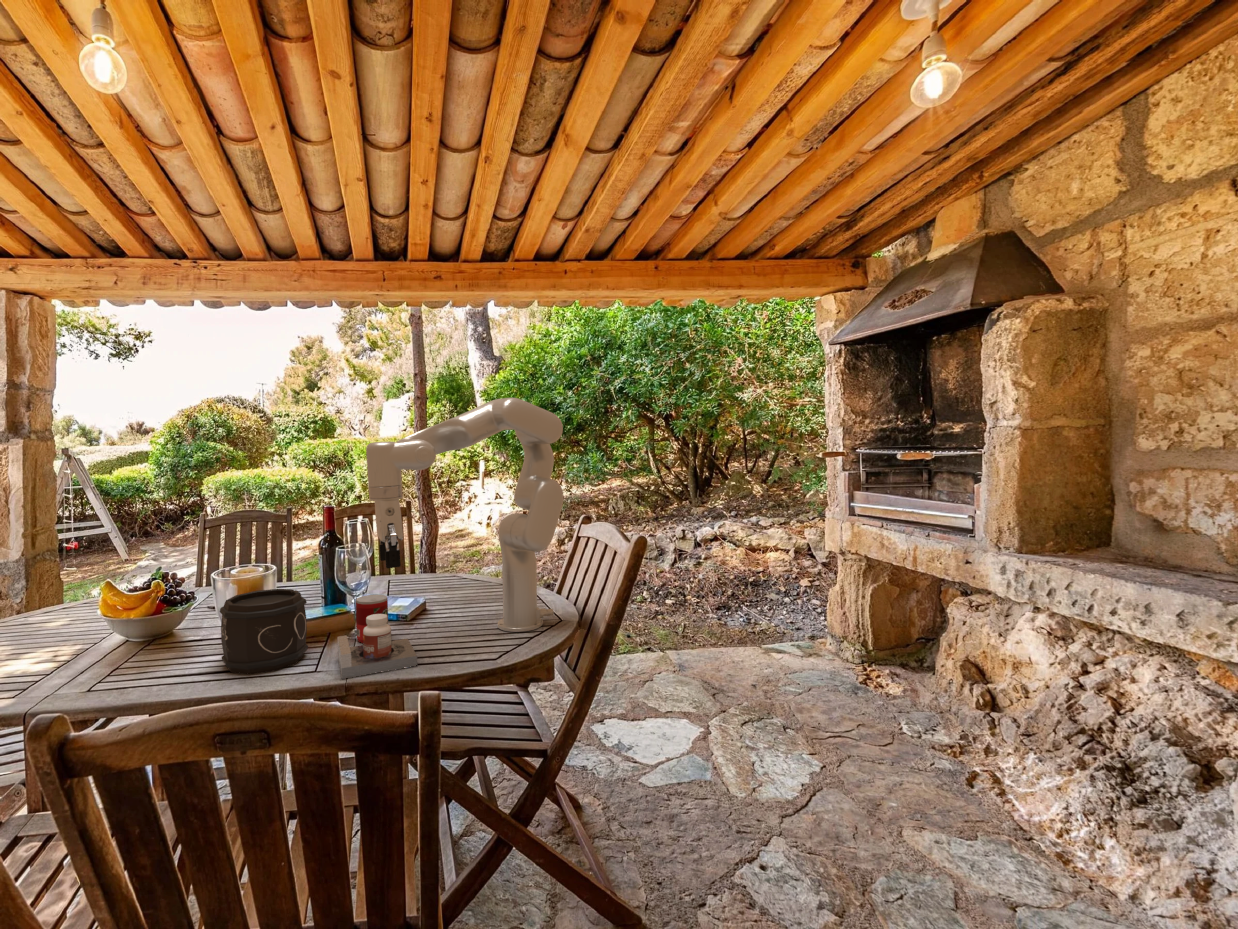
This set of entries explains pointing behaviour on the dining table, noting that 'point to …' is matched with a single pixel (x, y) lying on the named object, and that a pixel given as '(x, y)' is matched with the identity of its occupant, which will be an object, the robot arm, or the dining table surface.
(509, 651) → the dining table surface
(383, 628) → the pill bottle
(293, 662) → the chalk-marked storage tub
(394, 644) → the jig
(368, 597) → the canned food
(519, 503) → the robot arm
